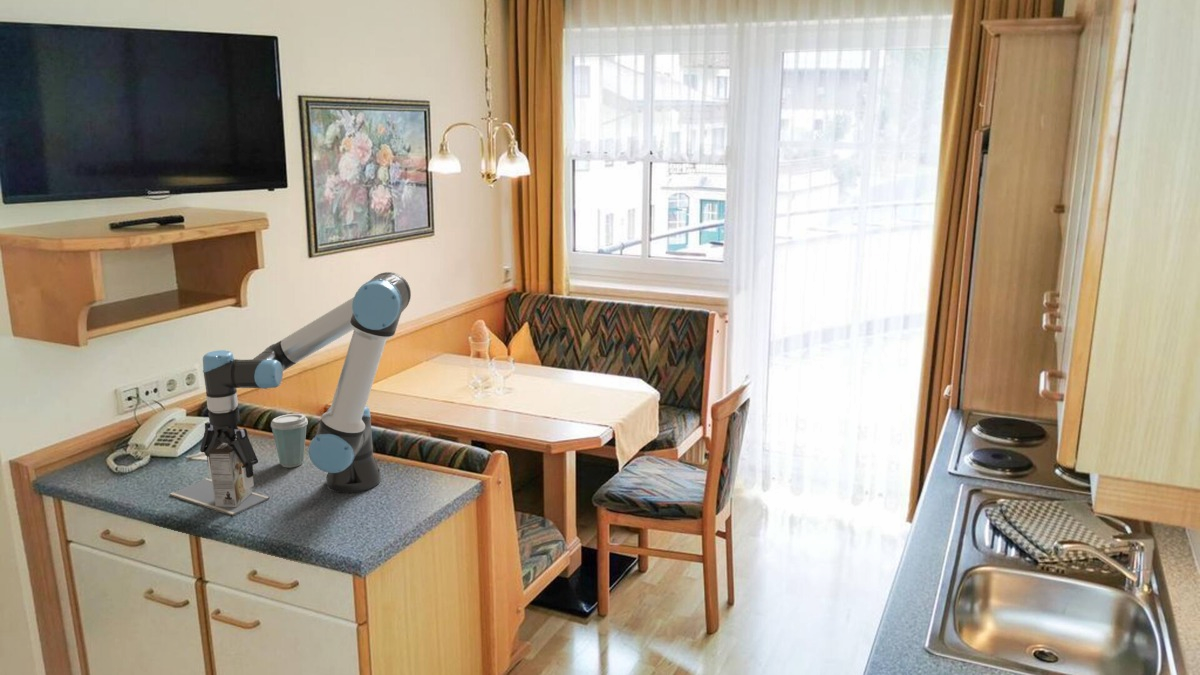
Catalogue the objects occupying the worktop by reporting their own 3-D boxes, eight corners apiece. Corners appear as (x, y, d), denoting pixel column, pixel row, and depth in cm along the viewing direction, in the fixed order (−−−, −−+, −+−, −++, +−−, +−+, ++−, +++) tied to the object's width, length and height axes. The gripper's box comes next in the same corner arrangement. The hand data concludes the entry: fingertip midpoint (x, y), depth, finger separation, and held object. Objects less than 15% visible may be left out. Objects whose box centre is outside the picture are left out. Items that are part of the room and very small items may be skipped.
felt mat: (269, 499, 249) (269, 497, 249) (232, 516, 239) (232, 514, 239) (207, 480, 261) (206, 478, 261) (169, 495, 251) (169, 493, 251)
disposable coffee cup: (266, 465, 272) (261, 418, 268) (295, 454, 280) (291, 408, 277) (290, 473, 266) (285, 425, 262) (319, 461, 275) (315, 414, 271)
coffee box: (230, 492, 252) (223, 438, 248) (252, 493, 251) (246, 439, 247) (214, 507, 243) (207, 451, 239) (237, 507, 243) (231, 452, 238)
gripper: (267, 412, 238) (274, 486, 243) (204, 397, 249) (213, 468, 255) (243, 420, 231) (251, 497, 237) (180, 405, 243) (189, 478, 249)
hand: (231, 482), depth 246 cm, fingers open, 13 cm apart
